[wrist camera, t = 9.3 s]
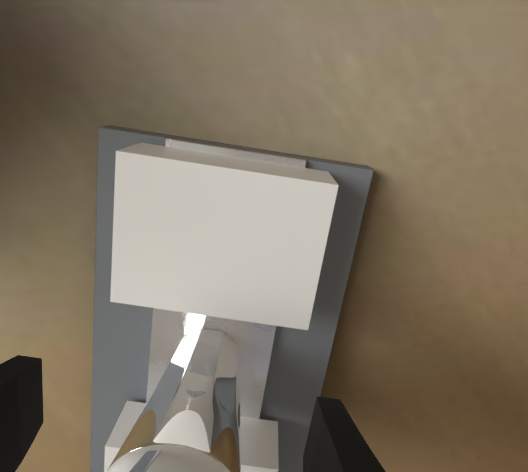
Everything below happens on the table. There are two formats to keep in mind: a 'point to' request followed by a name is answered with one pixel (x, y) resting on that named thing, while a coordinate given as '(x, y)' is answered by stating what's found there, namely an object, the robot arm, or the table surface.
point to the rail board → (285, 339)
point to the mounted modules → (218, 251)
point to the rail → (241, 332)
